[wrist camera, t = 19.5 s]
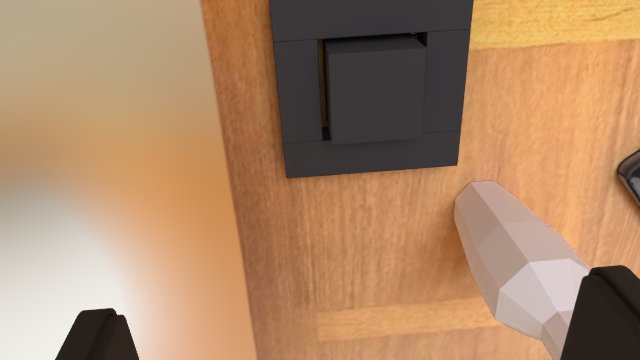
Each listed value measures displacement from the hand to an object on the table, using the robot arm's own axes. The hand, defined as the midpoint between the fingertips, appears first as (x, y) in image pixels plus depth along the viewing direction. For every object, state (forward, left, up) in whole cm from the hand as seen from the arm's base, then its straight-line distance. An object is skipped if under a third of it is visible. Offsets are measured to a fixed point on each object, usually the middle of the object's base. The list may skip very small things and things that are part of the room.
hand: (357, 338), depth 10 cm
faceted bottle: (+18, +8, -26) cm, 33 cm away
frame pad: (+4, +3, -26) cm, 27 cm away
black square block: (+4, +3, -26) cm, 27 cm away
